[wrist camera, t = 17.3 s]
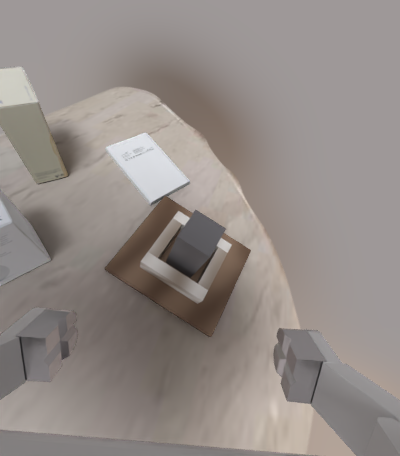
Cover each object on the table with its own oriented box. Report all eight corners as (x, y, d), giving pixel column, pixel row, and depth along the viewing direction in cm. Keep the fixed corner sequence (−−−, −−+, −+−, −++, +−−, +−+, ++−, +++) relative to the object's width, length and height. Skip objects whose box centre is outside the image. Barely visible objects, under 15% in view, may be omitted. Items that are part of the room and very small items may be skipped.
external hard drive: (150, 207, 36) (105, 153, 38) (188, 186, 40) (146, 137, 42) (150, 202, 35) (104, 146, 37) (190, 180, 39) (147, 130, 41)
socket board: (105, 270, 30) (102, 262, 27) (164, 199, 37) (167, 186, 34) (209, 336, 30) (218, 336, 27) (248, 252, 37) (258, 244, 34)
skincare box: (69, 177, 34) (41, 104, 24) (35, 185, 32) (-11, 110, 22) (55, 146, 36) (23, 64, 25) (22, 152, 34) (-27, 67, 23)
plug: (165, 262, 31) (177, 236, 23) (180, 240, 33) (195, 209, 25) (190, 278, 31) (210, 257, 23) (203, 254, 33) (225, 228, 25)
